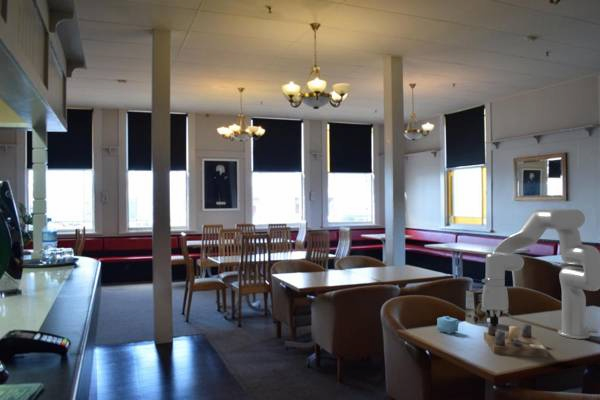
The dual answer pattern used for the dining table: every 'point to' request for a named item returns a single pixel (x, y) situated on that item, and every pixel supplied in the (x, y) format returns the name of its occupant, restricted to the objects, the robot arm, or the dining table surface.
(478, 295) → the coffee box
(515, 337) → the hinged leg
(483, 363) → the dining table surface
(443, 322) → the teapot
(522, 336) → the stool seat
